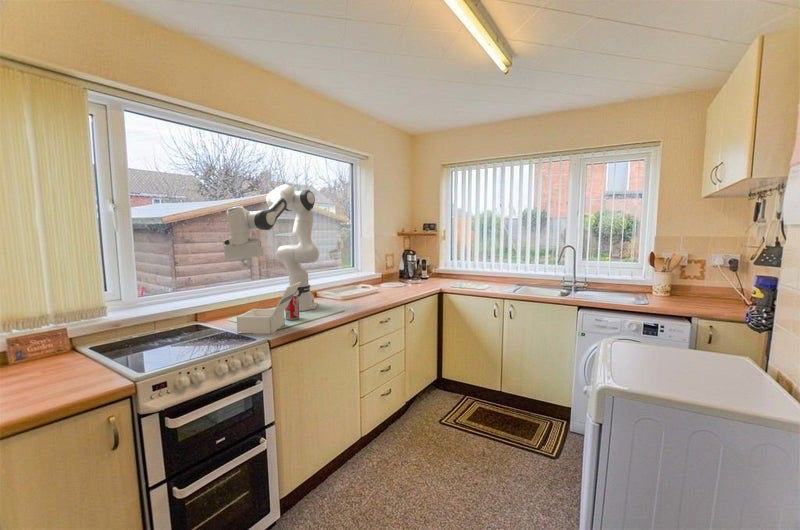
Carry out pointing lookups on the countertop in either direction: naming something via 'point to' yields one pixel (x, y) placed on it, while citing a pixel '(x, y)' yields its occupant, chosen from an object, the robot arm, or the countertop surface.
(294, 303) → the soda can
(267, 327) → the box
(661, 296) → the countertop surface
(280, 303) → the mailer lid
